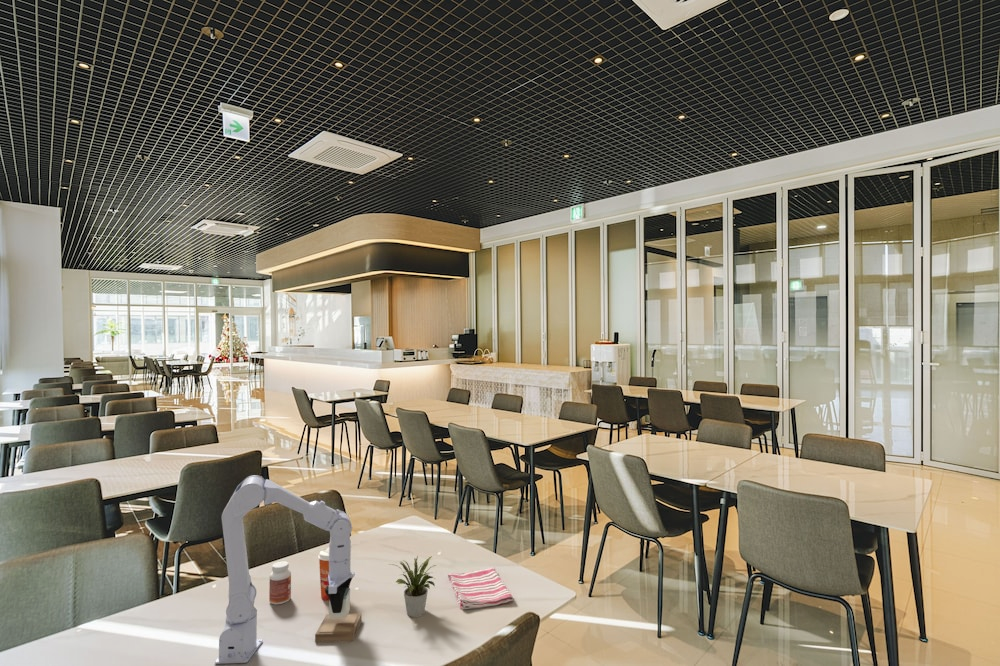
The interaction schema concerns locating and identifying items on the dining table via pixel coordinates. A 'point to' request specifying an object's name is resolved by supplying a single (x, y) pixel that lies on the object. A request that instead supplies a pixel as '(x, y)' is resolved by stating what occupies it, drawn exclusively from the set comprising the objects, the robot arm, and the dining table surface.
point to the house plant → (416, 588)
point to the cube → (344, 607)
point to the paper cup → (324, 571)
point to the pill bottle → (280, 583)
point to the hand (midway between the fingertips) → (339, 607)
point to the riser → (338, 628)
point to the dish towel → (479, 589)
